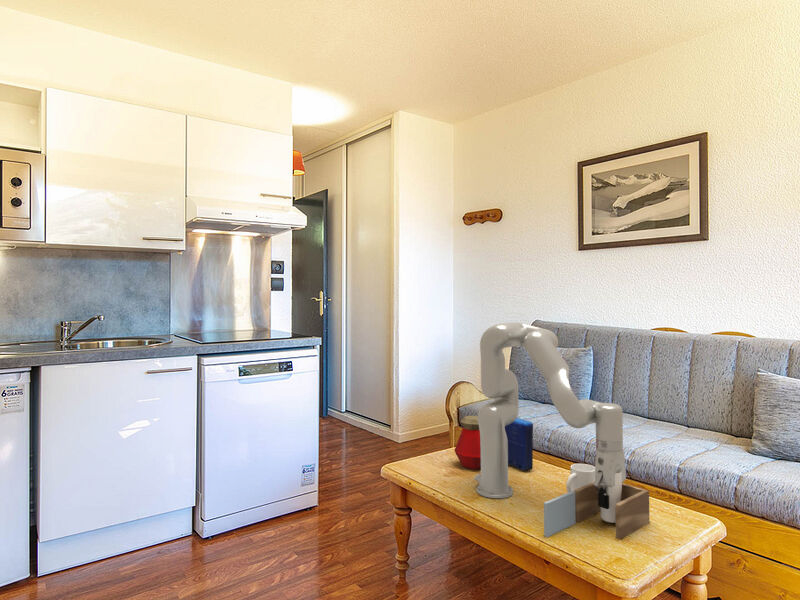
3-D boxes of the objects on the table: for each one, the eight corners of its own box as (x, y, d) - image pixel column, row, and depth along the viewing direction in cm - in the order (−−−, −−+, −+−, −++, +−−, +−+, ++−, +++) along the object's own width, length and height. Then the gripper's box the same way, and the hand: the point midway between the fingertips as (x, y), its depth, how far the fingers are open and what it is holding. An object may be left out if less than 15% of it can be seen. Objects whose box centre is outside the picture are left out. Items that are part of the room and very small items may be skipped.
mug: (576, 506, 159) (576, 475, 159) (557, 497, 166) (557, 467, 166) (602, 499, 164) (601, 469, 164) (582, 491, 172) (582, 462, 172)
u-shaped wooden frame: (574, 521, 148) (573, 490, 148) (604, 506, 158) (604, 477, 158) (619, 539, 136) (619, 505, 136) (649, 522, 147) (649, 490, 147)
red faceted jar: (498, 466, 199) (498, 417, 199) (479, 475, 189) (478, 423, 189) (467, 458, 210) (466, 411, 210) (447, 465, 200) (447, 417, 200)
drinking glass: (610, 526, 143) (610, 475, 143) (593, 517, 149) (592, 468, 149) (627, 522, 145) (627, 471, 145) (609, 513, 151) (609, 464, 152)
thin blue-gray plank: (572, 522, 147) (572, 490, 147) (575, 523, 147) (575, 491, 147) (544, 536, 139) (543, 502, 139) (547, 537, 138) (546, 503, 138)
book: (500, 463, 203) (499, 415, 203) (509, 461, 205) (509, 413, 205) (524, 473, 190) (524, 422, 190) (534, 471, 193) (534, 420, 193)
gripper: (605, 453, 139) (606, 516, 139) (635, 442, 150) (636, 501, 149) (581, 447, 145) (582, 508, 145) (612, 437, 155) (613, 493, 155)
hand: (609, 504), depth 147 cm, fingers closed on drinking glass, 6 cm apart
